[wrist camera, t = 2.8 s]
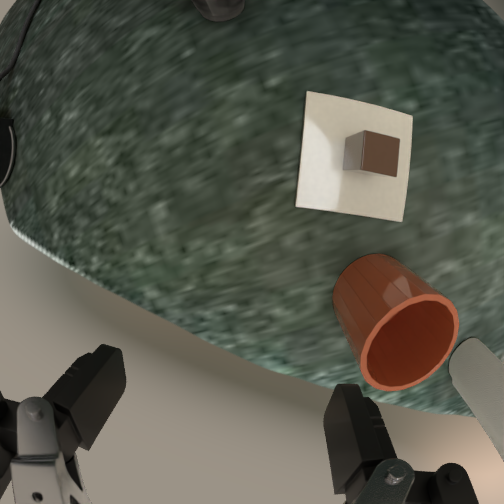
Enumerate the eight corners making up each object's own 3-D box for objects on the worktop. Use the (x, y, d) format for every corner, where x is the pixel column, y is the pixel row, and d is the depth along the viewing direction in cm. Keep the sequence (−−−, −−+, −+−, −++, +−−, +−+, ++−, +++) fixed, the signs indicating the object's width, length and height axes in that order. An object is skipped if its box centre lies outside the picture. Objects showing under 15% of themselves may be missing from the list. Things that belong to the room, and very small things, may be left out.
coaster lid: (305, 93, 22) (316, 72, 16) (409, 117, 22) (440, 107, 16) (294, 205, 25) (303, 215, 19) (398, 220, 25) (428, 233, 19)
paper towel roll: (470, 329, 28) (562, 428, 7) (483, 346, 28) (561, 436, 8) (435, 369, 29) (508, 483, 9) (451, 382, 30) (515, 483, 10)
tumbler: (341, 249, 26) (380, 290, 16) (416, 258, 26) (472, 296, 16) (324, 328, 28) (346, 393, 18) (395, 330, 28) (434, 386, 18)
